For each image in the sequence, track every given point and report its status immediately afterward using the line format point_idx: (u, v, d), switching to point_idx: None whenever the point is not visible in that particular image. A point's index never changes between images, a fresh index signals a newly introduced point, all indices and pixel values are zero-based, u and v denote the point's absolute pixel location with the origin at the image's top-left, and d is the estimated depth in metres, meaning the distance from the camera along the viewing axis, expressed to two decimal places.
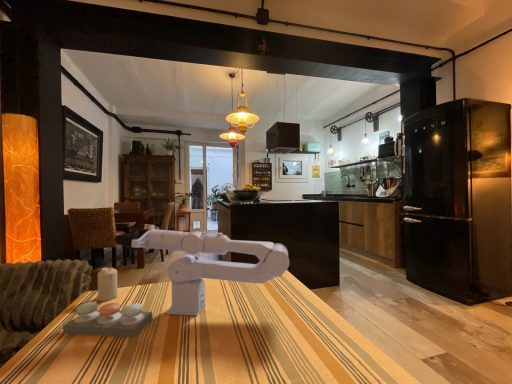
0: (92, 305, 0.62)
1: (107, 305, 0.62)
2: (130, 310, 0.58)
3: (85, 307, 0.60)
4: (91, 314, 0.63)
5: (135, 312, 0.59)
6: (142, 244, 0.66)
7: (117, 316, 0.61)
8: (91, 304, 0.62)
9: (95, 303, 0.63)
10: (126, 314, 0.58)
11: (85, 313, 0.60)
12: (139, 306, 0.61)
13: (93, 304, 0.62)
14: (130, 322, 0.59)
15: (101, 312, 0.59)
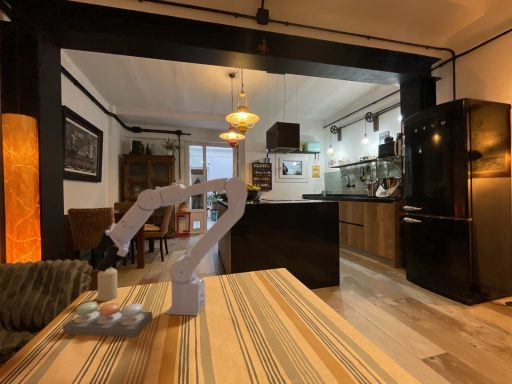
0: (92, 305, 0.62)
1: (107, 305, 0.62)
2: (130, 310, 0.58)
3: (85, 307, 0.60)
4: (91, 314, 0.63)
5: (135, 312, 0.59)
6: (125, 246, 0.64)
7: (117, 316, 0.61)
8: (91, 304, 0.62)
9: (95, 303, 0.63)
10: (126, 314, 0.58)
11: (85, 313, 0.60)
12: (139, 306, 0.61)
13: (93, 304, 0.62)
14: (130, 322, 0.59)
15: (101, 312, 0.59)
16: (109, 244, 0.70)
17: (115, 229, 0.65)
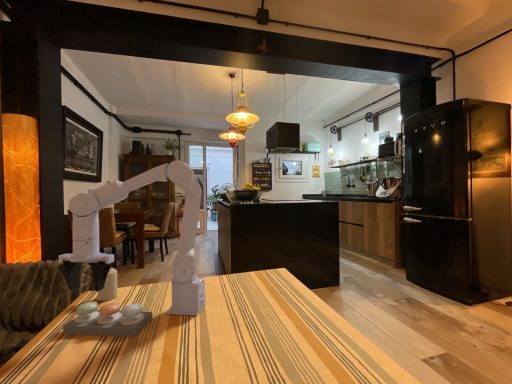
0: (92, 305, 0.62)
1: (107, 305, 0.62)
2: (130, 310, 0.58)
3: (85, 307, 0.60)
4: (91, 314, 0.63)
5: (135, 312, 0.59)
6: None
7: (117, 316, 0.61)
8: (91, 304, 0.62)
9: (95, 303, 0.63)
10: (126, 314, 0.58)
11: (85, 313, 0.60)
12: (139, 306, 0.61)
13: (93, 304, 0.62)
14: (130, 322, 0.59)
15: (101, 312, 0.59)
16: (77, 272, 0.63)
17: (79, 251, 0.59)
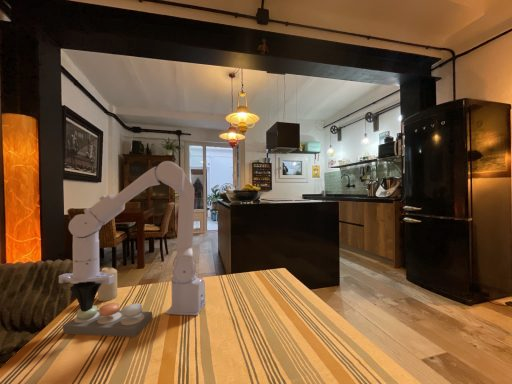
0: (92, 309, 0.62)
1: (107, 305, 0.62)
2: (130, 310, 0.58)
3: None
4: None
5: (135, 312, 0.59)
6: (104, 275, 0.62)
7: (117, 316, 0.61)
8: (91, 308, 0.62)
9: (95, 307, 0.63)
10: (126, 314, 0.58)
11: (85, 317, 0.60)
12: (139, 306, 0.61)
13: (93, 308, 0.62)
14: (130, 322, 0.59)
15: (101, 312, 0.59)
16: (89, 292, 0.63)
17: (79, 273, 0.59)
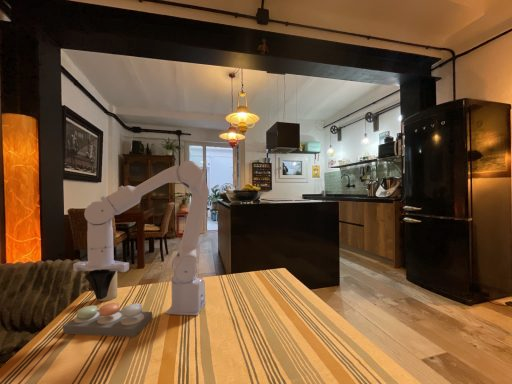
0: (92, 309, 0.62)
1: (107, 305, 0.62)
2: (130, 310, 0.58)
3: (85, 311, 0.60)
4: None
5: (135, 312, 0.59)
6: None
7: (117, 316, 0.61)
8: (91, 308, 0.62)
9: (95, 307, 0.63)
10: (126, 314, 0.58)
11: (85, 317, 0.60)
12: (139, 306, 0.61)
13: (93, 308, 0.62)
14: (130, 322, 0.59)
15: (101, 312, 0.59)
16: (103, 281, 0.62)
17: (94, 260, 0.58)
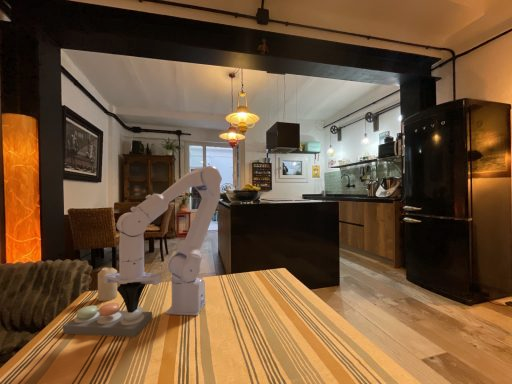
0: (92, 309, 0.62)
1: (107, 305, 0.62)
2: (130, 313, 0.58)
3: (85, 311, 0.60)
4: None
5: (135, 315, 0.59)
6: (150, 275, 0.60)
7: (117, 316, 0.61)
8: (91, 308, 0.62)
9: (95, 307, 0.63)
10: (126, 317, 0.58)
11: (85, 317, 0.60)
12: (139, 309, 0.61)
13: (93, 308, 0.62)
14: (130, 322, 0.59)
15: (101, 312, 0.59)
16: None
17: (127, 273, 0.57)
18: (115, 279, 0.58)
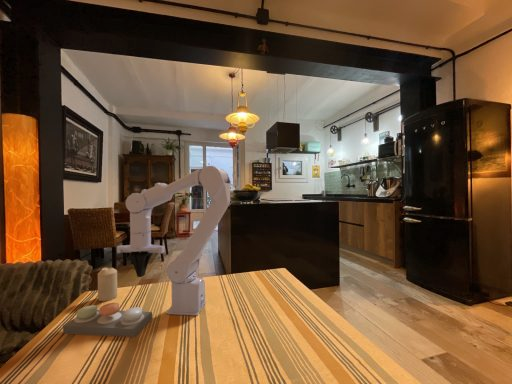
0: (92, 309, 0.62)
1: (107, 305, 0.62)
2: (130, 314, 0.58)
3: (85, 311, 0.60)
4: None
5: (135, 316, 0.59)
6: None
7: (117, 316, 0.61)
8: (91, 308, 0.62)
9: (95, 307, 0.63)
10: (126, 318, 0.58)
11: (85, 317, 0.60)
12: (139, 310, 0.61)
13: (93, 308, 0.62)
14: (130, 322, 0.59)
15: (101, 312, 0.59)
16: None
17: (137, 243, 0.69)
18: (127, 249, 0.70)
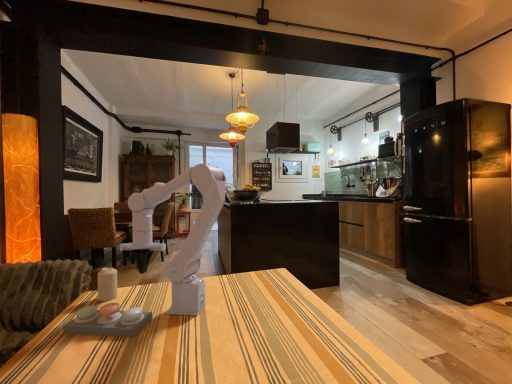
0: (92, 309, 0.62)
1: (107, 305, 0.62)
2: (130, 314, 0.58)
3: (85, 311, 0.60)
4: None
5: (135, 316, 0.59)
6: (157, 244, 0.74)
7: (117, 316, 0.61)
8: (91, 308, 0.62)
9: (95, 307, 0.63)
10: (126, 318, 0.58)
11: (85, 317, 0.60)
12: (139, 310, 0.61)
13: (93, 308, 0.62)
14: (130, 322, 0.59)
15: (101, 312, 0.59)
16: None
17: (139, 241, 0.71)
18: (129, 246, 0.72)
